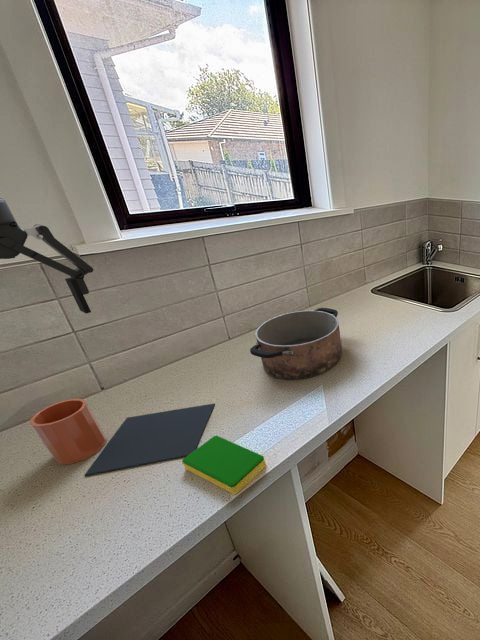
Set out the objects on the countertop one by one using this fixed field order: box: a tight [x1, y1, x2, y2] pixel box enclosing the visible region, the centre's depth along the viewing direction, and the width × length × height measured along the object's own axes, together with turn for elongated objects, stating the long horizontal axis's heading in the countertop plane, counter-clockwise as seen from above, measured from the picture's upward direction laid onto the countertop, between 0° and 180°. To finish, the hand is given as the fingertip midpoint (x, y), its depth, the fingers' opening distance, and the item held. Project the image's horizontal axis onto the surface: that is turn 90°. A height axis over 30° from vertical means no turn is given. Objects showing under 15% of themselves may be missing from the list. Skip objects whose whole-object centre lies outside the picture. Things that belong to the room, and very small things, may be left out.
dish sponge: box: [181, 435, 267, 495], centre depth 64 cm, size 7×14×2 cm, turn 66°
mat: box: [84, 403, 216, 477], centre depth 72 cm, size 18×16×1 cm
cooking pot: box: [249, 307, 343, 381], centre depth 98 cm, size 30×22×11 cm
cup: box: [29, 398, 107, 466], centre depth 66 cm, size 8×8×10 cm
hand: (36, 325), depth 59 cm, fingers open, 13 cm apart
